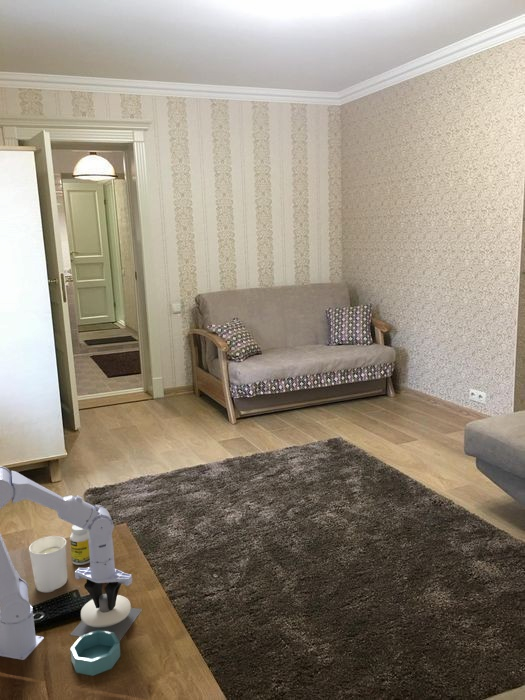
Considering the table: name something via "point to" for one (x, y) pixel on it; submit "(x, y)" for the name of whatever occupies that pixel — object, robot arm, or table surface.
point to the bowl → (95, 652)
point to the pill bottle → (79, 545)
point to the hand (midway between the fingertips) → (105, 606)
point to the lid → (105, 612)
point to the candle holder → (49, 563)
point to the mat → (116, 628)
